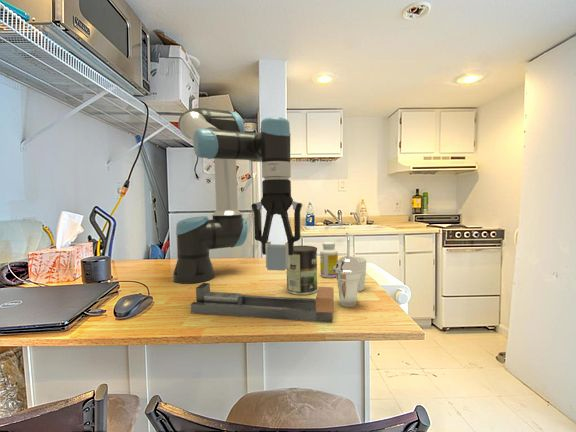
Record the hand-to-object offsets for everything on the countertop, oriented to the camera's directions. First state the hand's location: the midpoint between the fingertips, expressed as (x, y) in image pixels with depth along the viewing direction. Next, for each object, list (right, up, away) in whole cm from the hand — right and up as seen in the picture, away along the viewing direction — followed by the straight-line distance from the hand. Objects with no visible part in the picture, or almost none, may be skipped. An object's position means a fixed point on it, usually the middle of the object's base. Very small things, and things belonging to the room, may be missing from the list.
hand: (278, 266), depth 80 cm
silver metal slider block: (-16, -12, +4) cm, 21 cm away
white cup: (+25, -11, +20) cm, 33 cm away
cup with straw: (+20, -12, +6) cm, 24 cm away
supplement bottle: (+19, -10, +35) cm, 41 cm away
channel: (-4, -12, +2) cm, 13 cm away
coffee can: (+7, -11, +19) cm, 23 cm away
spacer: (0, 0, 0) cm, 0 cm away
